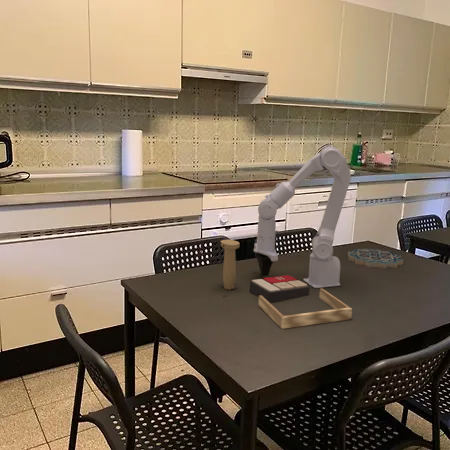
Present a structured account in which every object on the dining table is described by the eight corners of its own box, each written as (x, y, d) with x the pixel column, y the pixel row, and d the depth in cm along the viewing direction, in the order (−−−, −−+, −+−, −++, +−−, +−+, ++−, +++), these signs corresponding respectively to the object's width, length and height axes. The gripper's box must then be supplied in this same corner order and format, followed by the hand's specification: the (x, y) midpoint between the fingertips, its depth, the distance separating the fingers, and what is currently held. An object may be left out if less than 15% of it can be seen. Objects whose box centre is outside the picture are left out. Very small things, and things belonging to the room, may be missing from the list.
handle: (228, 293, 140) (229, 245, 136) (216, 286, 145) (217, 240, 141) (241, 289, 142) (242, 243, 139) (229, 283, 148) (230, 238, 144)
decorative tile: (410, 260, 177) (410, 255, 176) (389, 272, 162) (390, 266, 162) (361, 250, 190) (362, 244, 189) (338, 260, 175) (339, 254, 175)
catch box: (321, 297, 138) (322, 288, 137) (351, 319, 123) (352, 308, 123) (258, 305, 131) (258, 295, 130) (282, 328, 117) (282, 317, 116)
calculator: (310, 284, 139) (270, 290, 132) (309, 297, 140) (268, 304, 133) (288, 273, 148) (249, 278, 141) (287, 286, 149) (248, 291, 142)
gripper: (246, 231, 154) (245, 269, 157) (263, 242, 141) (262, 284, 144) (265, 230, 156) (264, 267, 159) (284, 241, 143) (282, 282, 146)
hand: (264, 275), depth 152 cm, fingers closed
